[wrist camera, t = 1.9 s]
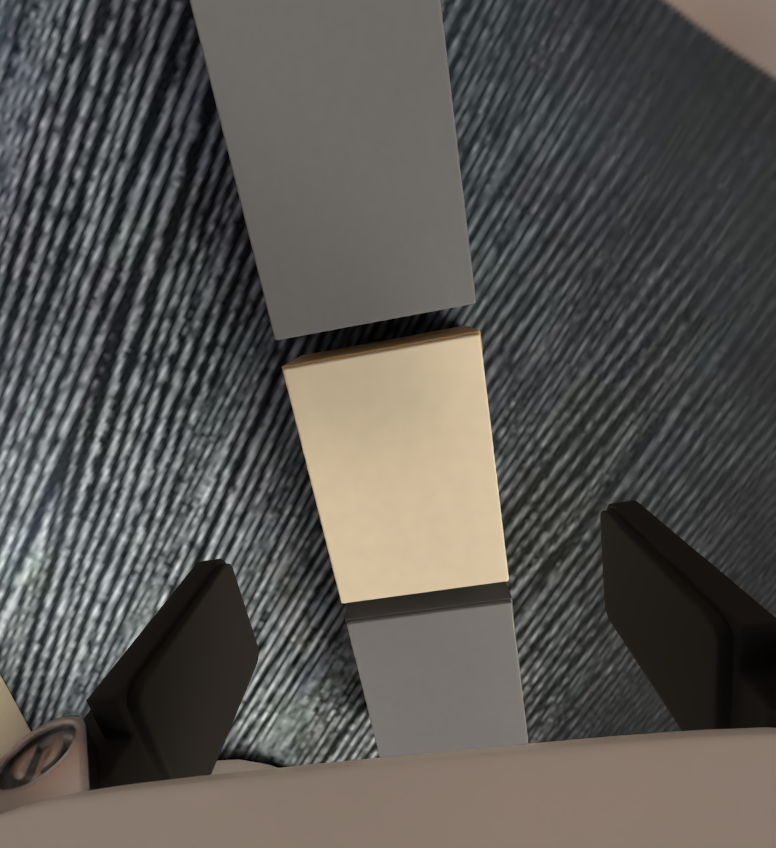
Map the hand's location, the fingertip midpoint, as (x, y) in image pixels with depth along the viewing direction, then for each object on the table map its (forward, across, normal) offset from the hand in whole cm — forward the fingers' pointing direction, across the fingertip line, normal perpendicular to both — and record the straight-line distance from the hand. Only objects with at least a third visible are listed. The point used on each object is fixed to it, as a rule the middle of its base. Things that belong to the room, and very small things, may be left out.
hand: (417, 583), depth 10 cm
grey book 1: (+9, 0, -11) cm, 15 cm away
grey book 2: (+9, 0, +11) cm, 14 cm away
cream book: (+9, 0, 0) cm, 9 cm away
